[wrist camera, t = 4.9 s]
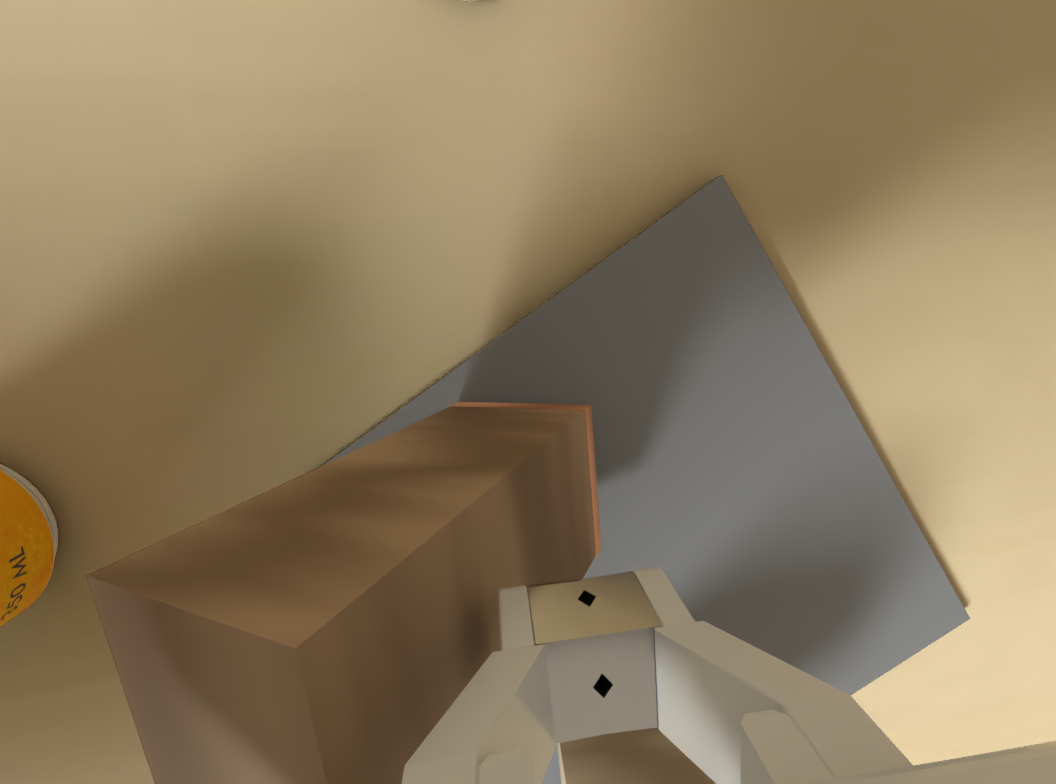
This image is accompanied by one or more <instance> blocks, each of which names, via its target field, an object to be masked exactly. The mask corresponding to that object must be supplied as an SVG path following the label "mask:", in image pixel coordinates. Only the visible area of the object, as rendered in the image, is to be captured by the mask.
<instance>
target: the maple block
mask: <svg viewBox="0 0 1056 784" xmlns="http://www.w3.org/2000/svg"><path fill="white" fill-rule="evenodd" d="M556 746H557V756H558V766H559V775H560V784H716V783H715V782H714V781H713V780H712V779H711V778H710V777H708V776H707V775H706V774H705V773H704V772H703V771H702V770H701V769H700V768H699V767H698V766H697V765H696V764H695V763H694V762H692V761H691V760H690V759H689V758H688V757H687V756H686V755H685V754H684V753H683V752H682V751H681V750H680V749H679V748H678V747H677V746H675V745H674V744H673V743H672V742H671V741H670V740H669V739H668V738H667V737H666V736H665V735H664V734H663V733H662V732H661V731H660V730H659V727H656V728H648V729H640V730H633V731H625V732H617V733H609V734H603V735H598V736H593V737H588V738H582V739H577V740H572V741H567V742H562V743H557V744H556Z"/></svg>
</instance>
